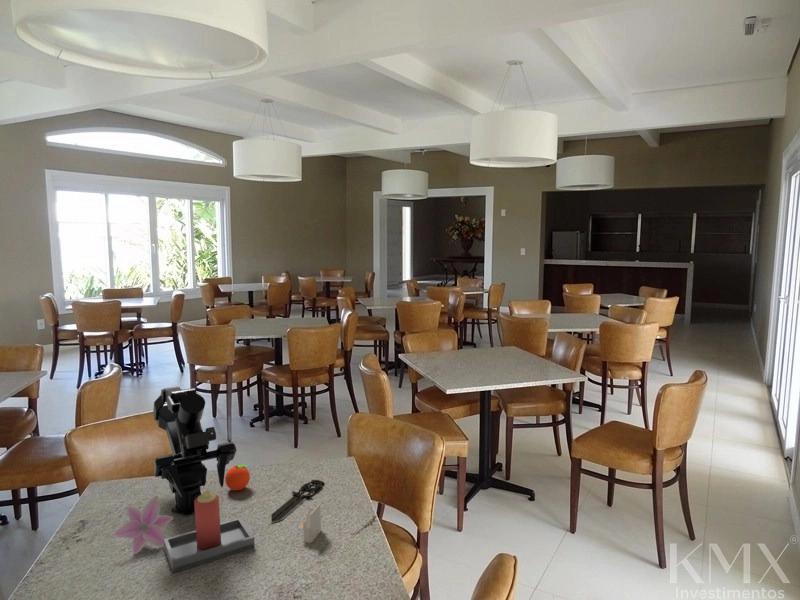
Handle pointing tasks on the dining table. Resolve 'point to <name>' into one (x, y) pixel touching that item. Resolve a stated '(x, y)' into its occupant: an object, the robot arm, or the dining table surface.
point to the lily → (144, 525)
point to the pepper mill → (207, 521)
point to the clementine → (237, 477)
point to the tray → (188, 555)
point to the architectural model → (311, 524)
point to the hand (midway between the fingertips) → (202, 491)
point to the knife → (295, 503)
